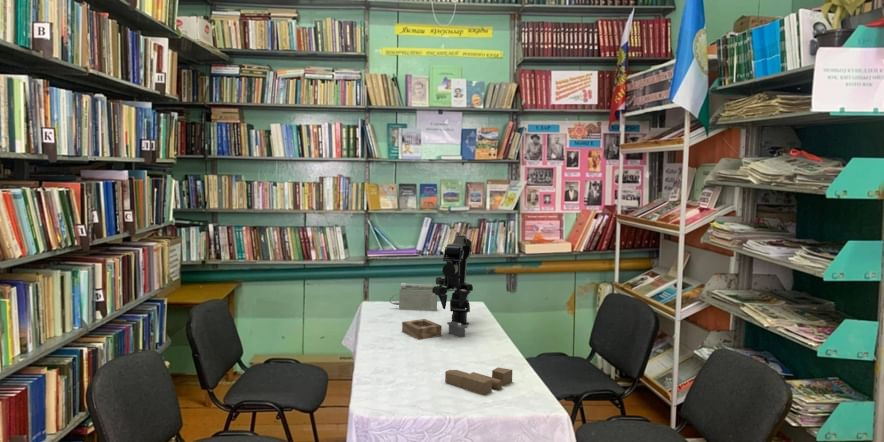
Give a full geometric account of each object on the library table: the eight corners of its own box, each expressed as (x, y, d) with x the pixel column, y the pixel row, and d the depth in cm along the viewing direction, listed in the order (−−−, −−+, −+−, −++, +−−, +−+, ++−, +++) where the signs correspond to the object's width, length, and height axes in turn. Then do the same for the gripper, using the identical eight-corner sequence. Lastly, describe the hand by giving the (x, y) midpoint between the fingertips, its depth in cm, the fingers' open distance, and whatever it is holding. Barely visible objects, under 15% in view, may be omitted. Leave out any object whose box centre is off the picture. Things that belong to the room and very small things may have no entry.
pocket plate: (424, 328, 280) (424, 318, 280) (441, 335, 269) (441, 325, 268) (402, 331, 274) (402, 321, 273) (418, 339, 262) (418, 329, 262)
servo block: (454, 331, 276) (454, 319, 276) (467, 337, 268) (467, 324, 267) (446, 332, 274) (447, 320, 274) (459, 338, 266) (459, 325, 265)
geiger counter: (438, 283, 317) (390, 281, 320) (436, 285, 311) (388, 283, 313) (437, 309, 318) (390, 307, 321) (436, 312, 312) (388, 310, 314)
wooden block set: (486, 380, 198) (444, 368, 210) (486, 397, 199) (444, 383, 210) (515, 367, 211) (473, 356, 223) (514, 383, 212) (473, 371, 223)
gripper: (458, 268, 281) (458, 301, 282) (425, 272, 270) (424, 306, 271) (474, 272, 272) (473, 306, 273) (440, 276, 261) (439, 311, 262)
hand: (452, 307), depth 270 cm, fingers open, 9 cm apart
